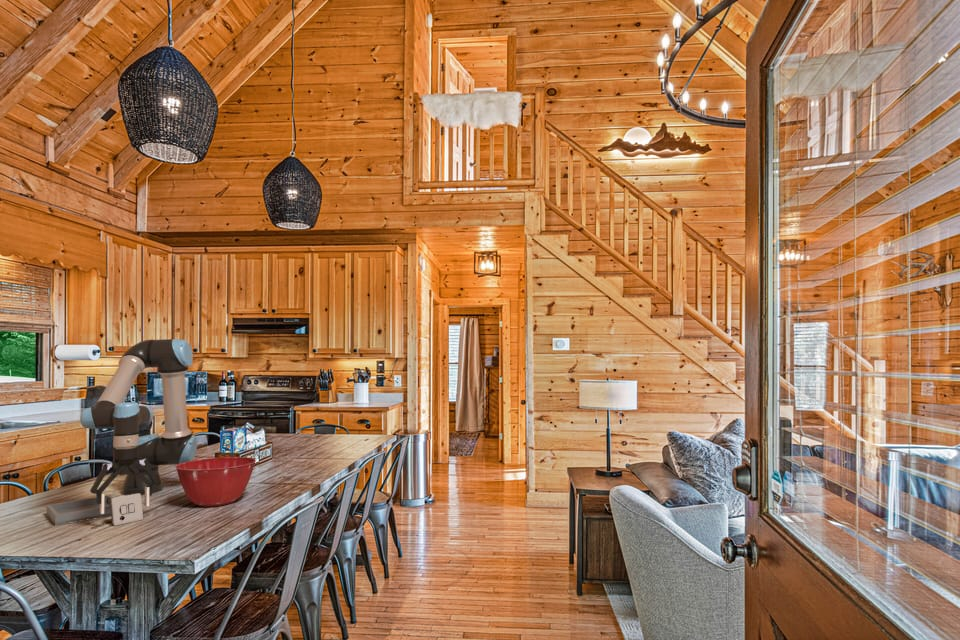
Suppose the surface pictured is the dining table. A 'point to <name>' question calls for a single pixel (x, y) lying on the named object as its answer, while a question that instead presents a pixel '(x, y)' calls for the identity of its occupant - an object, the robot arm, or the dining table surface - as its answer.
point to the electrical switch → (126, 509)
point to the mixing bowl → (215, 479)
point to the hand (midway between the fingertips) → (124, 509)
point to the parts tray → (78, 510)
